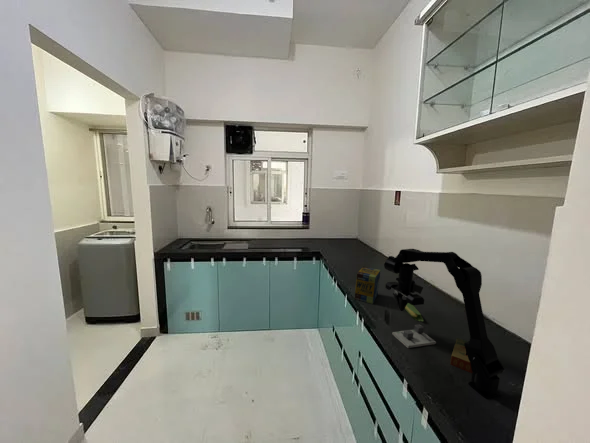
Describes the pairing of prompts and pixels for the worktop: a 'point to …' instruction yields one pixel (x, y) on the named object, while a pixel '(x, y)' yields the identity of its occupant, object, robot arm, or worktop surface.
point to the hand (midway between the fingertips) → (401, 310)
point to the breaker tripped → (408, 334)
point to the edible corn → (413, 312)
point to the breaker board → (414, 339)
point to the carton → (460, 356)
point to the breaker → (418, 328)
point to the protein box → (367, 284)
